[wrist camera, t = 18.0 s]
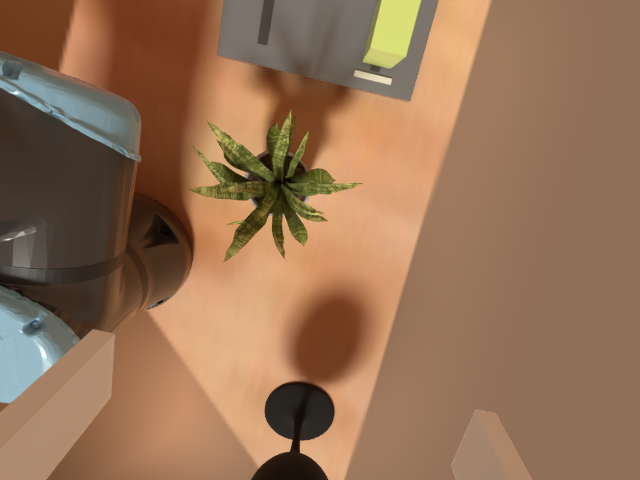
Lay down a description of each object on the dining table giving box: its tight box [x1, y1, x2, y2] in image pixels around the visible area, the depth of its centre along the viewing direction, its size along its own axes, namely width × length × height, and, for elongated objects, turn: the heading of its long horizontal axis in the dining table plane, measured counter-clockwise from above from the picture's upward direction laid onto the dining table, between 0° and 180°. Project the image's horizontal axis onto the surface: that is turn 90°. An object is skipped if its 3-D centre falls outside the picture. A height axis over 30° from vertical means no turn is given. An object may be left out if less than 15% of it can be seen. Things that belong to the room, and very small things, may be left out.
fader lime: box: [362, 0, 421, 69], centre depth 35 cm, size 3×5×9 cm, turn 167°
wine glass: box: [251, 383, 334, 480], centre depth 47 cm, size 10×10×20 cm
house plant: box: [190, 108, 362, 263], centre depth 38 cm, size 14×14×16 cm
